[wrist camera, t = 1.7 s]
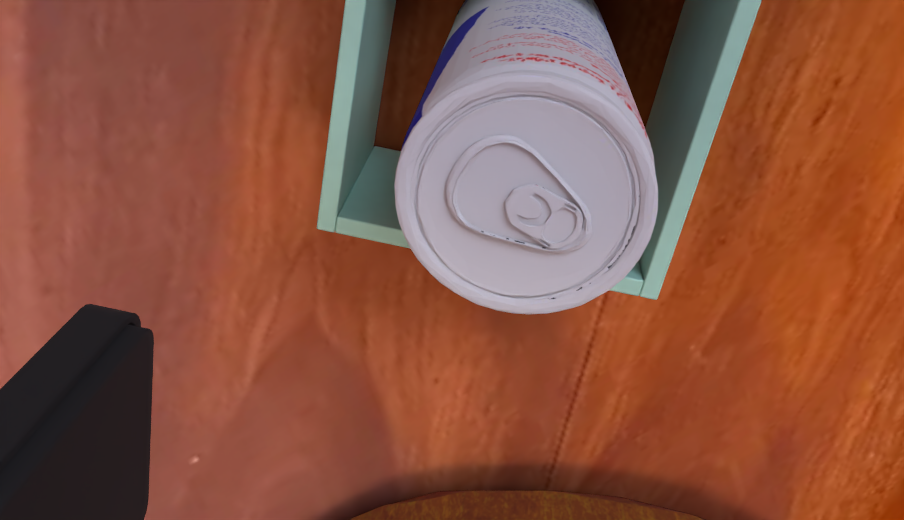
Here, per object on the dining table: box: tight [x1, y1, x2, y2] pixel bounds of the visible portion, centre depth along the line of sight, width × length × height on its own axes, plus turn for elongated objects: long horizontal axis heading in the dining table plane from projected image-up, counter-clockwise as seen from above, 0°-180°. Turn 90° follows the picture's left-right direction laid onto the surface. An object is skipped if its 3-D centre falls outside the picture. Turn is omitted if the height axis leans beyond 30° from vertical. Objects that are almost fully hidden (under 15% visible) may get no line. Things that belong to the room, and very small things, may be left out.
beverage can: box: [394, 0, 658, 314], centre depth 24 cm, size 6×6×15 cm
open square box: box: [317, 0, 762, 300], centre depth 28 cm, size 11×11×7 cm
